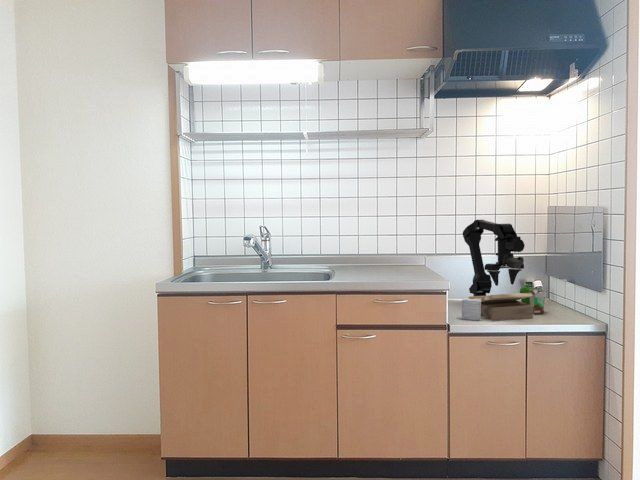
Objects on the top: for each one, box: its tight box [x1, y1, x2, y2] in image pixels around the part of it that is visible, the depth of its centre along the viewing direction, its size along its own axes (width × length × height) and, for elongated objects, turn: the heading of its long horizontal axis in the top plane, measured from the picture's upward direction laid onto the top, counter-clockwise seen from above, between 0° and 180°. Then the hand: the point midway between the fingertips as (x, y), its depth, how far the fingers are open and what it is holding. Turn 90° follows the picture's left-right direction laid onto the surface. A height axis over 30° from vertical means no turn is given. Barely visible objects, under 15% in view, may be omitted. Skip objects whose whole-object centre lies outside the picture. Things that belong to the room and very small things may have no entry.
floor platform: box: [468, 294, 534, 322], centre depth 235 cm, size 20×20×7 cm
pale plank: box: [480, 292, 532, 303], centre depth 231 cm, size 12×20×2 cm, turn 104°
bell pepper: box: [519, 283, 537, 305], centre depth 259 cm, size 8×8×10 cm
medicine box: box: [461, 298, 482, 321], centre depth 226 cm, size 8×4×9 cm, turn 71°
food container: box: [529, 288, 548, 315], centre depth 239 cm, size 12×6×10 cm, turn 168°
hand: (504, 285), depth 236 cm, fingers open, 9 cm apart
